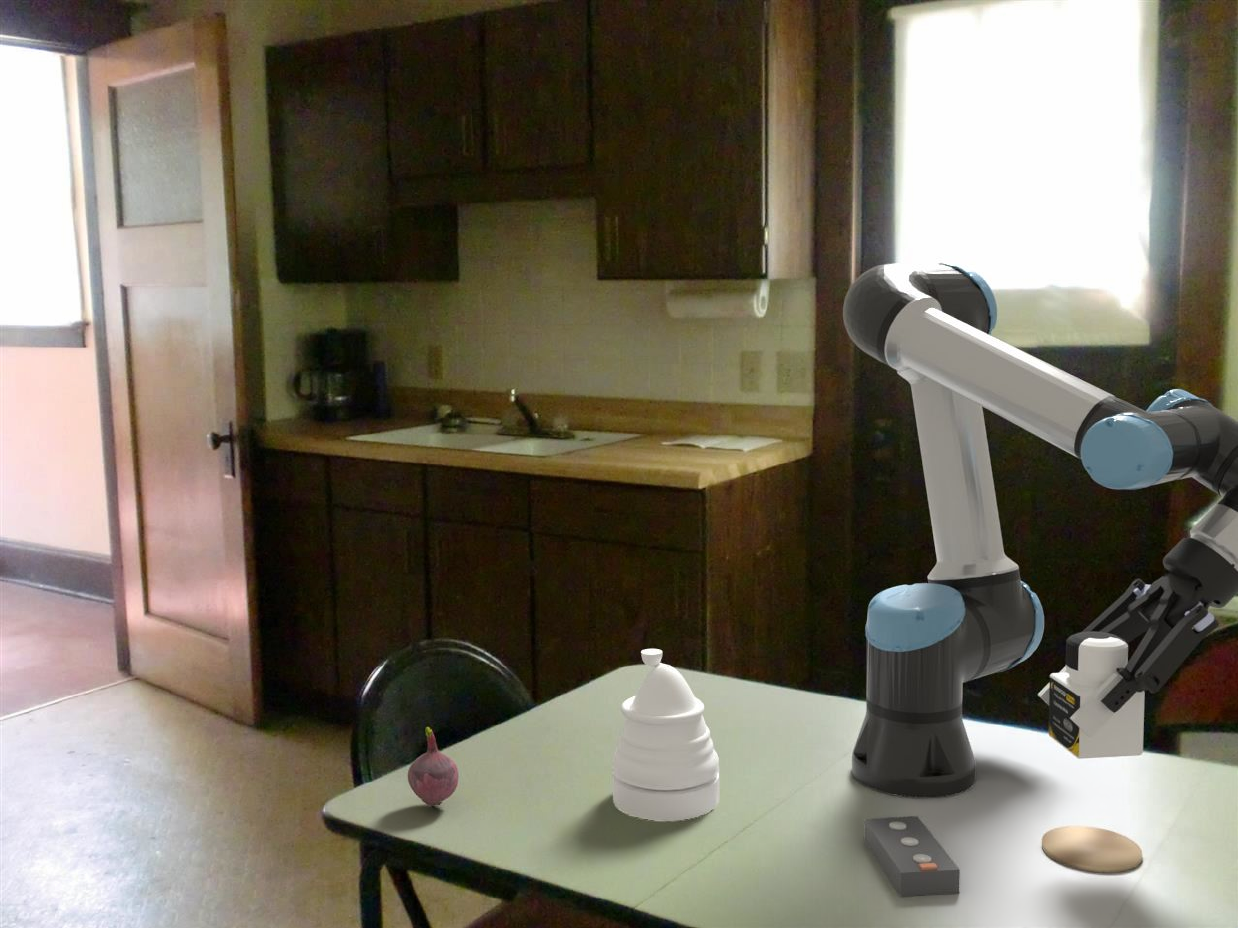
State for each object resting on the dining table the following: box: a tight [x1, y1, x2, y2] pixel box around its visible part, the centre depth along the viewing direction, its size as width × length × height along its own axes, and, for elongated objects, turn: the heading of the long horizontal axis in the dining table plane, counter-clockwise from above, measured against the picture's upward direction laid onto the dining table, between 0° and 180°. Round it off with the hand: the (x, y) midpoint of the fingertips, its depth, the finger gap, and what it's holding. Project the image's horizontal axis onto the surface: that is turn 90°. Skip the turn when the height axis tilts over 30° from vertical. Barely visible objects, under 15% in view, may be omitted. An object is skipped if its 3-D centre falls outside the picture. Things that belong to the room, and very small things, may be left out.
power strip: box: [863, 815, 961, 898], centre depth 126 cm, size 13×6×3 cm, turn 5°
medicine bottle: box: [1048, 631, 1145, 760], centre depth 127 cm, size 7×7×12 cm
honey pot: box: [611, 648, 720, 822], centre depth 144 cm, size 13×13×18 cm
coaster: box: [1041, 825, 1143, 873], centre depth 129 cm, size 10×10×1 cm
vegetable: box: [407, 726, 459, 807], centre depth 143 cm, size 6×6×10 cm
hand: (1063, 715), depth 127 cm, fingers closed on medicine bottle, 7 cm apart
